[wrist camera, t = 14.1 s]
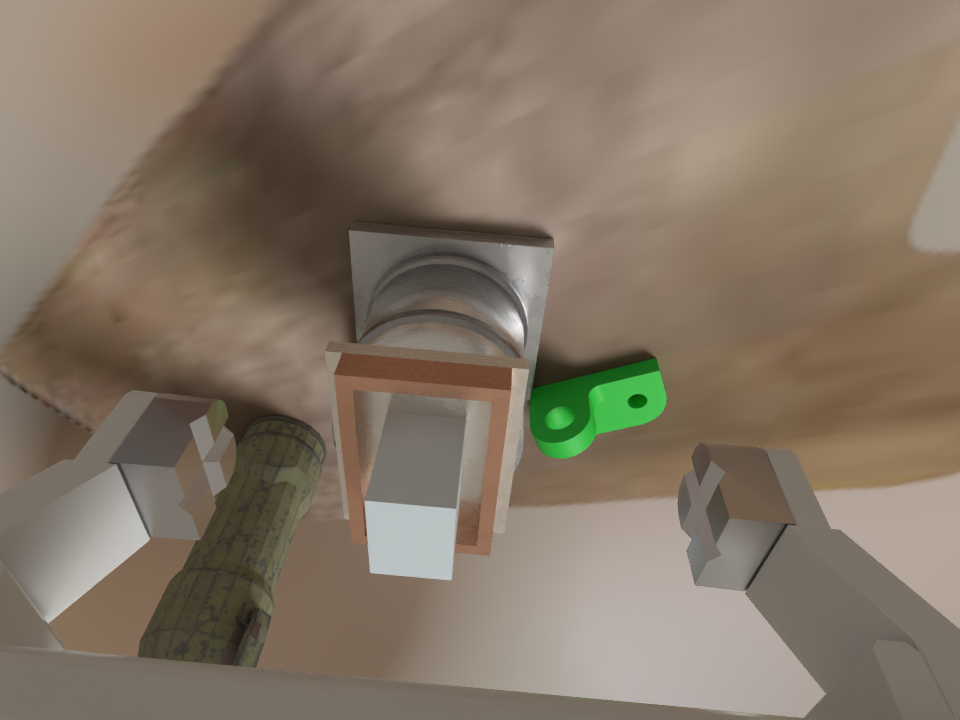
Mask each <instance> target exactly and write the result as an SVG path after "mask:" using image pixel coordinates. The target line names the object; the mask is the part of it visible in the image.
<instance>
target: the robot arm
mask: <svg viewBox="0 0 960 720" xmlns="http://www.w3.org/2000/svg"><path fill="white" fill-rule="evenodd" d="M228 417H229V415H228V411H227V408H226V405H225V402H224V401H221V400H219V399H211V398H203V397H194V396H185V395H176V394H168V393H154V392H145V391H137V390H132V391H131V392H129V393H127V394H125V395H124V396H123V397H122V398H121V399H120V401H119V402H118V403H117V405H116V406H115V407H114V409H113V410H112V411H111V412H110V414H109V415H108V416H107V418H106V419H105V420H104V422H103V423H102V424H101V425H100V427H99V428H98V429H97V431H96V432H95V433H94V434H93V436H92V437H91V439H90V440H89V441H88V442H87V444H86V445H85V446H84V448H83V449H82V450H81V451H80V453H79V454H78V455H77V457H76V458H75V459H74V460H63V461H61V462H59V463H57V464H55V465H54V466H51V467H50V468H48V469H46V470H44V471H42V472H40V473H38V474H37V475H35V476H33V477H31V478H29V479H27V480H25V481H24V482H22V483H20V484H18V485H16V486H14V487H12V488H10V489H8V490H7V491H5V492H3V493H1V494H0V720H960V629H959V628H958V627H956V626H955V625H954V624H953V623H951V622H950V621H949V620H948V619H947V618H946V617H944V616H943V615H942V614H941V613H940V612H938V611H937V610H936V609H935V608H934V607H932V606H931V605H930V604H929V603H927V602H926V601H925V600H924V599H923V598H922V597H920V596H919V595H918V594H917V593H915V592H914V591H913V590H912V589H911V588H909V587H908V586H907V585H906V584H905V583H903V582H902V581H901V580H900V579H898V578H897V577H896V576H895V575H894V574H893V573H891V572H890V571H889V570H888V569H886V568H885V567H884V566H883V565H882V564H880V563H879V562H878V561H877V560H876V559H874V558H873V557H872V556H871V555H870V554H868V553H867V552H866V551H865V550H864V549H862V548H861V547H860V546H859V545H857V544H856V543H855V542H854V541H853V540H852V539H850V538H849V537H848V536H847V535H846V534H844V533H843V532H842V531H841V530H836V529H831V528H830V526H829V524H828V522H827V520H826V518H825V515H824V513H823V511H822V509H821V507H820V505H819V503H818V500H817V498H816V496H815V494H814V492H813V490H812V488H811V486H810V483H809V481H808V479H807V477H806V475H805V473H804V471H803V468H802V466H801V464H800V462H799V460H798V458H797V456H796V454H795V453H794V452H793V451H791V450H789V449H776V448H764V447H760V448H758V447H750V446H738V445H726V444H713V443H700V444H699V445H698V446H697V447H696V448H695V451H694V453H693V455H692V457H691V458H692V462H693V466H694V469H693V470H692V471H690V472H688V473H687V474H685V475H684V477H683V480H682V482H681V485H680V488H679V496H678V513H679V519H680V524H681V528H682V529H683V530H684V531H685V532H686V533H687V534H688V536H689V537H691V539H692V540H691V542H690V544H689V546H688V549H687V554H688V559H689V563H690V567H691V571H692V575H693V579H694V583H695V585H696V586H705V587H714V588H722V589H731V590H739V591H746V593H745V594H746V595H747V597H748V598H749V599H750V600H751V602H752V603H753V604H754V605H755V607H756V608H757V609H758V610H759V611H760V613H761V614H762V615H763V616H764V618H765V619H766V620H767V621H768V623H769V624H770V625H771V626H772V627H773V629H774V630H775V631H776V632H777V633H778V635H779V636H780V637H781V638H782V640H783V641H784V642H785V643H786V645H787V646H788V647H789V648H790V650H791V651H792V652H793V653H794V655H795V656H796V657H797V658H798V660H799V661H800V662H801V663H802V665H803V666H804V667H805V668H806V669H807V671H808V672H809V673H810V674H811V676H812V677H813V678H814V679H815V681H816V682H817V683H818V684H819V685H820V687H821V688H822V689H823V690H824V692H825V693H826V695H825V696H824V697H823V698H822V699H821V700H820V701H819V702H818V703H817V704H816V705H815V706H814V707H813V708H812V709H811V711H810V712H809V713H808V714H807V715H806V717H805V718H797V717H786V716H774V715H763V714H753V713H742V712H731V711H720V710H709V709H698V708H688V707H676V706H666V705H655V704H643V703H634V702H623V701H612V700H601V699H590V698H580V697H569V696H557V695H547V694H536V693H526V692H515V691H503V690H493V689H483V688H472V687H461V686H460V687H459V686H449V685H439V684H428V683H417V682H406V681H395V680H384V679H373V678H362V677H351V676H339V675H329V674H318V673H308V672H297V671H285V670H275V669H264V668H253V667H242V666H231V665H221V664H210V663H199V662H188V661H177V660H166V659H155V658H144V657H133V656H122V655H112V654H100V653H90V652H79V651H68V650H65V648H64V645H63V643H62V642H61V640H60V639H59V638H58V636H57V635H56V634H55V632H54V631H53V629H52V628H51V627H50V625H49V624H48V623H49V622H50V621H51V620H53V619H54V618H55V617H57V616H58V615H59V614H60V613H61V612H63V611H64V610H65V609H66V608H67V607H69V606H70V605H71V604H72V603H74V602H75V601H76V600H77V599H78V598H80V597H81V596H82V595H83V594H84V593H86V592H87V591H88V590H89V589H91V588H92V587H93V586H94V585H95V584H97V583H98V582H99V581H100V580H102V579H103V578H104V577H105V576H106V575H108V574H109V573H110V572H111V571H112V570H114V569H115V568H116V567H117V566H119V565H120V564H121V563H122V562H124V561H125V560H126V559H127V558H128V557H130V556H131V555H132V554H133V553H134V552H136V551H137V550H138V549H139V548H141V547H142V546H143V545H144V544H145V543H147V542H148V541H149V540H150V538H149V537H159V538H176V539H190V540H201V538H202V536H203V534H204V532H205V530H206V528H207V526H208V524H209V522H210V520H211V518H212V516H213V514H214V512H215V510H216V504H215V501H214V498H213V496H214V495H215V494H217V493H218V492H220V491H221V490H223V489H224V488H226V487H227V485H228V483H229V481H230V479H231V476H232V474H233V471H234V466H235V461H236V442H235V438H234V434H233V433H232V432H230V431H229V430H228V429H227V428H226V427H225V426H224V424H225V422H226V420H227V419H228Z"/></svg>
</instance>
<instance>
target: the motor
mask: <svg viewBox="0 0 960 720" xmlns="http://www.w3.org/2000/svg"><path fill="white" fill-rule="evenodd" d="M349 241H350V254H351V268H352V281H353V295H354V308H355V322H356V335H357V343H346V342H335V341H329V343H328V345H327V348H326V350H325V355H326V364H327V372H328V381H329V389H330V398H331V407H332V415H333V422H332V435H333V440H334V444H335V446H336V450H337V458H338V467H339V476H340V484H341V493H342V501H343V510H344V519H349V521H350V530H351V539H352V543H357V544H368V539H367V526H366V514H365V502H364V500H365V496H366V493H367V489H368V485H369V481H370V477H371V473H372V469H373V465H374V461H375V457H376V454H377V450H378V446H379V442H380V438H381V434H382V430H383V426H384V422H385V418H386V415H387V412H395V413H407V414H418V415H429V416H440V417H451V418H462V419H466V427H465V441H464V455H463V468H462V482H461V494H460V504H459V513H458V522H457V532H456V541H455V551H454V552H456V553H467V554H478V555H488V556H489V555H490V549H491V542H492V534H493V533H504V532H505V525H506V518H507V512H508V506H509V499H510V492H511V486H512V479H513V472H514V471H515V469H516V468H517V466H518V464H519V462H520V460H521V456H522V452H523V413H524V411H525V407H526V403H527V400H530V398H531V392H532V386H533V380H534V373H535V367H536V361H537V355H538V348H539V342H540V336H541V329H542V323H543V317H544V311H545V304H546V298H547V292H548V285H549V279H550V273H551V267H552V260H553V254H554V239H551V238H540V237H528V236H517V235H506V234H494V233H483V232H472V231H460V230H449V229H438V228H426V227H415V226H404V225H392V224H381V223H370V222H358V221H353V223H352V225H351V227H350V229H349Z"/></svg>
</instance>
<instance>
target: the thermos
mask: <svg viewBox="0 0 960 720" xmlns="http://www.w3.org/2000/svg"><path fill="white" fill-rule="evenodd" d="M325 455H326V447H325V443H324V441H323V439H322V438H321V436H320V435H319V434H318V433H317V432H316V431H315V430H314V429H313V428H312V427H311V426H309V425H307V424H305V423H303V422H302V421H300V420H297V419H293V418H290V417H287V416H274V415H273V416H267V417H261V418H259V419H257V420H256V421H254V422H252V423H251V424H250V426H249V427H248V428H247V430H246V432H245V435H244V437H243V439H242V440H241V441H240V443H239V444H238V445H237V446H236V461H235V466H234V471H233V474H232V476H231V479H230V481H229V483H228V485H227V487H226V488H224V489H223V490H221V491H220V494H219V496H218V498H217V500H216V502H215V504H216V510H215V512H214V514H213V516H212V518H211V520H210V522H209V524H208V526H207V528H206V530H205V532H204V534H203V536H202V538H201V540H196V543H195V545H194V547H193V549H192V551H191V553H190V555H189V557H188V559H187V561H186V563H185V565H184V567H183V569H182V570H181V571H180V572H179V573H178V574H176V575H175V576H174V578H173V579H172V580H171V581H170V582H169V584H168V586H167V588H166V590H165V592H164V594H163V596H162V598H161V600H160V602H159V604H158V606H157V608H156V610H155V612H154V614H153V616H152V618H151V620H150V622H149V624H148V626H147V628H146V630H145V632H144V634H143V636H142V638H141V640H140V646H139V652H138V657H144V658H155V659H166V660H177V661H188V662H199V663H210V664H221V665H231V666H242V667H253V668H256V666H257V663H258V660H259V657H260V654H261V651H262V648H263V645H264V642H265V638H266V634H267V631H268V627H269V624H270V620H271V615H272V613H273V610H274V600H273V593H274V590H275V587H276V584H277V582H278V578H279V576H280V573H281V570H282V567H283V564H284V561H285V558H286V556H287V553H288V550H289V547H290V544H291V541H292V538H293V535H294V533H295V530H296V527H297V524H298V521H299V519H300V518H301V517H302V516H303V515H304V514H305V513H306V512H307V510H308V509H309V506H310V503H311V500H312V497H313V495H314V492H315V489H316V486H317V483H318V480H319V477H320V474H321V465H322V463H323V461H324V458H325Z"/></svg>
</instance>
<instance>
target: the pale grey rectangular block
mask: <svg viewBox="0 0 960 720" xmlns="http://www.w3.org/2000/svg"><path fill="white" fill-rule="evenodd" d="M465 427H466V419H462V418H451V417H440V416H429V415H418V414H407V413H395V412H387V415H386V418H385V422H384V426H383V430H382V434H381V438H380V442H379V446H378V450H377V454H376V457H375V461H374V465H373V469H372V473H371V477H370V481H369V485H368V489H367V493H366V496H365V500H364V502H365V514H366V526H367V539H368V551H369V564H370V573H377V574H389V575H399V576H410V577H422V578H433V579H443V580H451V578H452V569H453V560H454V551H455V541H456V532H457V522H458V513H459V504H460V494H461V482H462V468H463V455H464V441H465Z"/></svg>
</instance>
